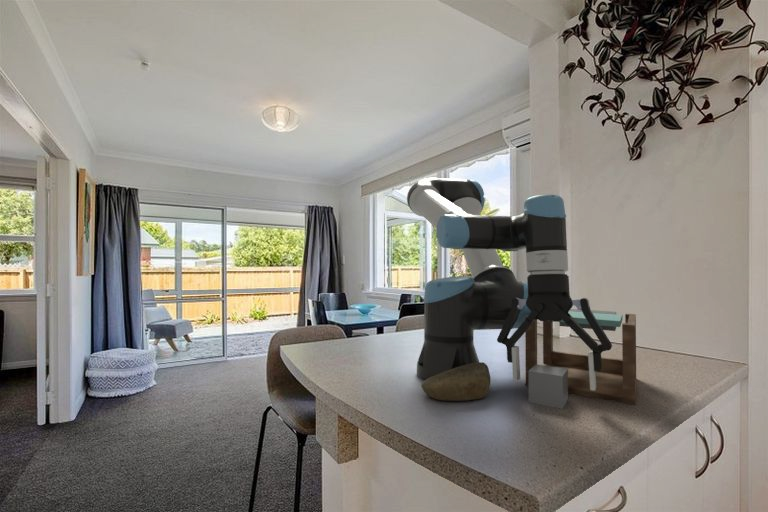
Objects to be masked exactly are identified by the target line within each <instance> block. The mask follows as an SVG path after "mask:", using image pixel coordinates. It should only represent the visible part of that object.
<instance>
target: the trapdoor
mask: <svg viewBox="0 0 768 512" xmlns="http://www.w3.org/2000/svg"><path fill="white" fill-rule="evenodd" d="M590 310H591V312H592V313H593V315H594V316H595V318H596V320H597V321H598V323H599V324H600V326H601V328H602V329H603V331H609V332H610V331H611V332H615V331H616V329H617V328H621V327H622V324H623V314H620V313H619V314H618V313H617V311H607V310H594V309H590ZM568 313H569V314H570V315H571V316H572V317H573V318H574V320H575V321H576V322H577V323H578V324H579V325H580V326H581V327H582V328H583V329H589V330H593V329H592V328H591V326H590V324H589V323H588V321H587V319H586V318H585V316H584V314H583V312H582V310H578V309H577V308H571V309H570V310H569V312H568ZM548 321H549V320H548ZM558 323H559V327H567V328H570V327H569V326H568V325H567V324H566V323H565V322H564V321H563V320H561V321H558Z"/></svg>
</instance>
